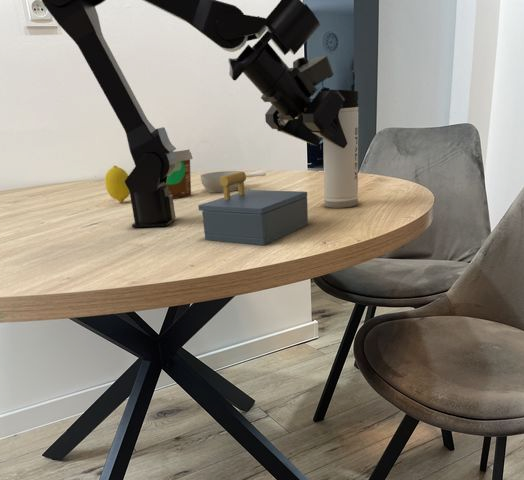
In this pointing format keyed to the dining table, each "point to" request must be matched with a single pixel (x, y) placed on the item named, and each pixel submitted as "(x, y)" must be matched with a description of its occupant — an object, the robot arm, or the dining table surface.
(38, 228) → the dining table surface
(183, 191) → the food container
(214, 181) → the saucepan
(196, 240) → the dining table surface
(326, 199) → the travel mug
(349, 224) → the dining table surface
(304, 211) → the box
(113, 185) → the lemon
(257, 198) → the lid
